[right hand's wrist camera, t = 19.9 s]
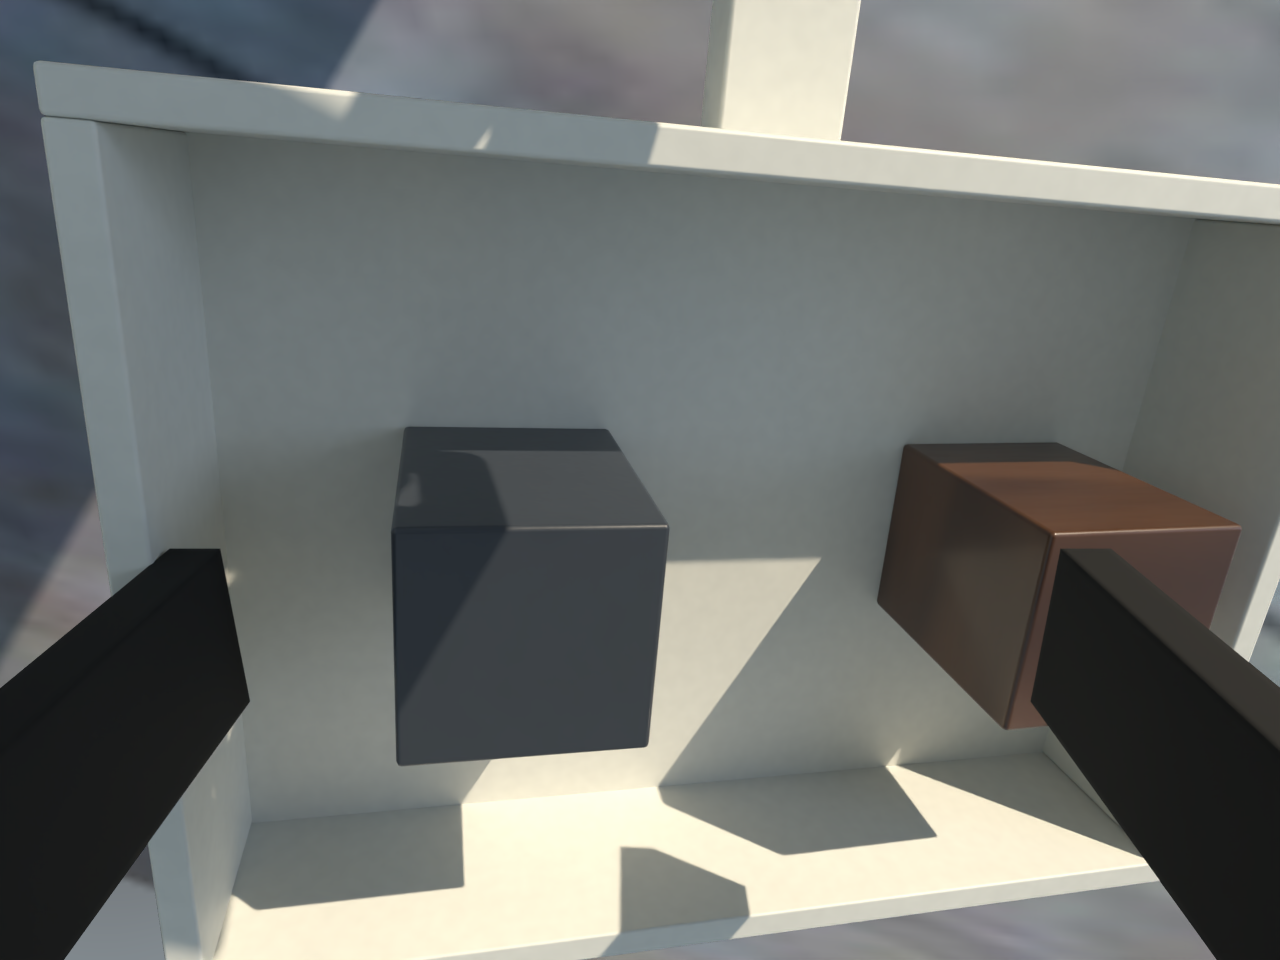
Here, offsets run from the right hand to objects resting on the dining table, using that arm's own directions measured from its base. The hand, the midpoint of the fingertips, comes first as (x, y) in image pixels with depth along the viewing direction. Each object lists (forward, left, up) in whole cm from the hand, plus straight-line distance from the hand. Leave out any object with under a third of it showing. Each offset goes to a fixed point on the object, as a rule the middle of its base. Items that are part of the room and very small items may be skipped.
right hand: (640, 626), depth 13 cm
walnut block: (-1, -8, -7) cm, 10 cm away
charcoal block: (0, +3, -4) cm, 5 cm away
